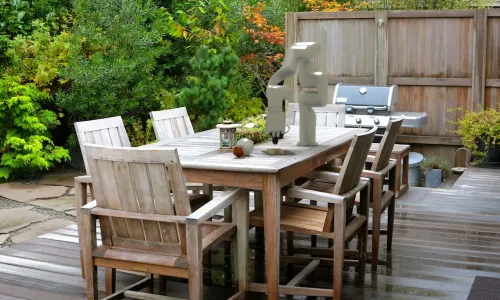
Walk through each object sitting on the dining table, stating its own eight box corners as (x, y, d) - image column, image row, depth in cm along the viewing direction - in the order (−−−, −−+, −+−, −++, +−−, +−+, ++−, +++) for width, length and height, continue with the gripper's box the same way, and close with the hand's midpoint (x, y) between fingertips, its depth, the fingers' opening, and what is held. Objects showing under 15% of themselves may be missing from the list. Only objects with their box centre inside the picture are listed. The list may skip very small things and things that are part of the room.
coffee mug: (268, 138, 451) (268, 122, 450) (279, 137, 456) (279, 121, 455) (280, 140, 442) (280, 124, 440) (290, 139, 447) (290, 123, 445)
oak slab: (267, 152, 379) (270, 154, 374) (267, 148, 379) (270, 150, 373) (279, 152, 381) (283, 153, 375) (279, 148, 381) (283, 149, 375)
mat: (261, 151, 388) (261, 150, 388) (286, 150, 392) (286, 149, 392) (270, 155, 373) (270, 154, 373) (295, 154, 376) (295, 153, 376)
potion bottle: (250, 157, 377) (241, 164, 364) (235, 146, 378) (226, 153, 365) (259, 143, 374) (251, 150, 360) (244, 132, 375) (235, 139, 361)
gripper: (263, 110, 372) (263, 145, 374) (290, 110, 376) (290, 144, 378) (259, 109, 379) (259, 144, 382) (286, 109, 383) (286, 143, 386)
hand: (275, 144), depth 380 cm, fingers closed
